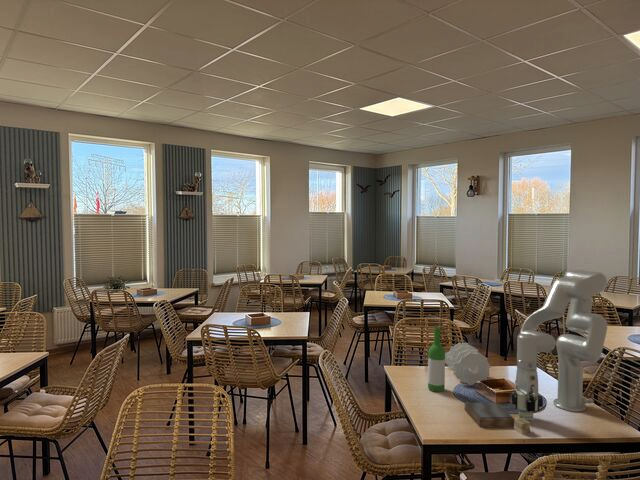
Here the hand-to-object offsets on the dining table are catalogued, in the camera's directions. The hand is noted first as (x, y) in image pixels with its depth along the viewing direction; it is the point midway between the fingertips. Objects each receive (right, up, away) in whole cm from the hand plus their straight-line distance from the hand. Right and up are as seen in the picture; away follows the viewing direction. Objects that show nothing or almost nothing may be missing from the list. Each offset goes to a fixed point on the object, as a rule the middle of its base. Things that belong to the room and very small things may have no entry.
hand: (525, 406), depth 185 cm
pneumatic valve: (0, -5, 0) cm, 5 cm away
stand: (-15, -5, 0) cm, 16 cm away
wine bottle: (-29, -4, +32) cm, 43 cm away
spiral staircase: (-9, -3, +47) cm, 48 cm away
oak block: (-7, -5, -11) cm, 14 cm away
